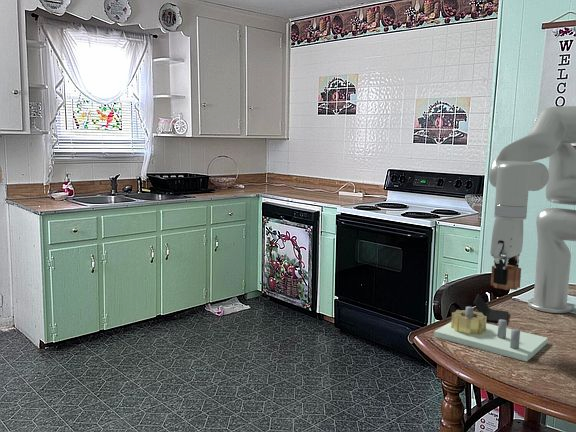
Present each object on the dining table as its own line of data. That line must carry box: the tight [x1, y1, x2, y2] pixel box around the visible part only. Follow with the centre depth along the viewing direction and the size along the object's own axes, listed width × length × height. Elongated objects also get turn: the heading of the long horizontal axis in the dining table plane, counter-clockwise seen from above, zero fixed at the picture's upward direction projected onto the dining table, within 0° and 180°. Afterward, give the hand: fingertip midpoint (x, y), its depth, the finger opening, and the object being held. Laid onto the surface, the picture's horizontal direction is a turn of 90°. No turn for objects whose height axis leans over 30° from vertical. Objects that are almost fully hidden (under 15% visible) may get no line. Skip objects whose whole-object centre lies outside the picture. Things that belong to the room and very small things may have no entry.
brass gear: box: [450, 309, 487, 335], centre depth 146 cm, size 9×9×4 cm
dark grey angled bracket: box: [473, 293, 510, 324], centre depth 161 cm, size 12×7×10 cm
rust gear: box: [490, 264, 522, 291], centre depth 138 cm, size 7×7×5 cm
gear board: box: [433, 306, 549, 362], centre depth 142 cm, size 16×24×8 cm, turn 48°
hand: (505, 280), depth 138 cm, fingers closed on rust gear, 6 cm apart
